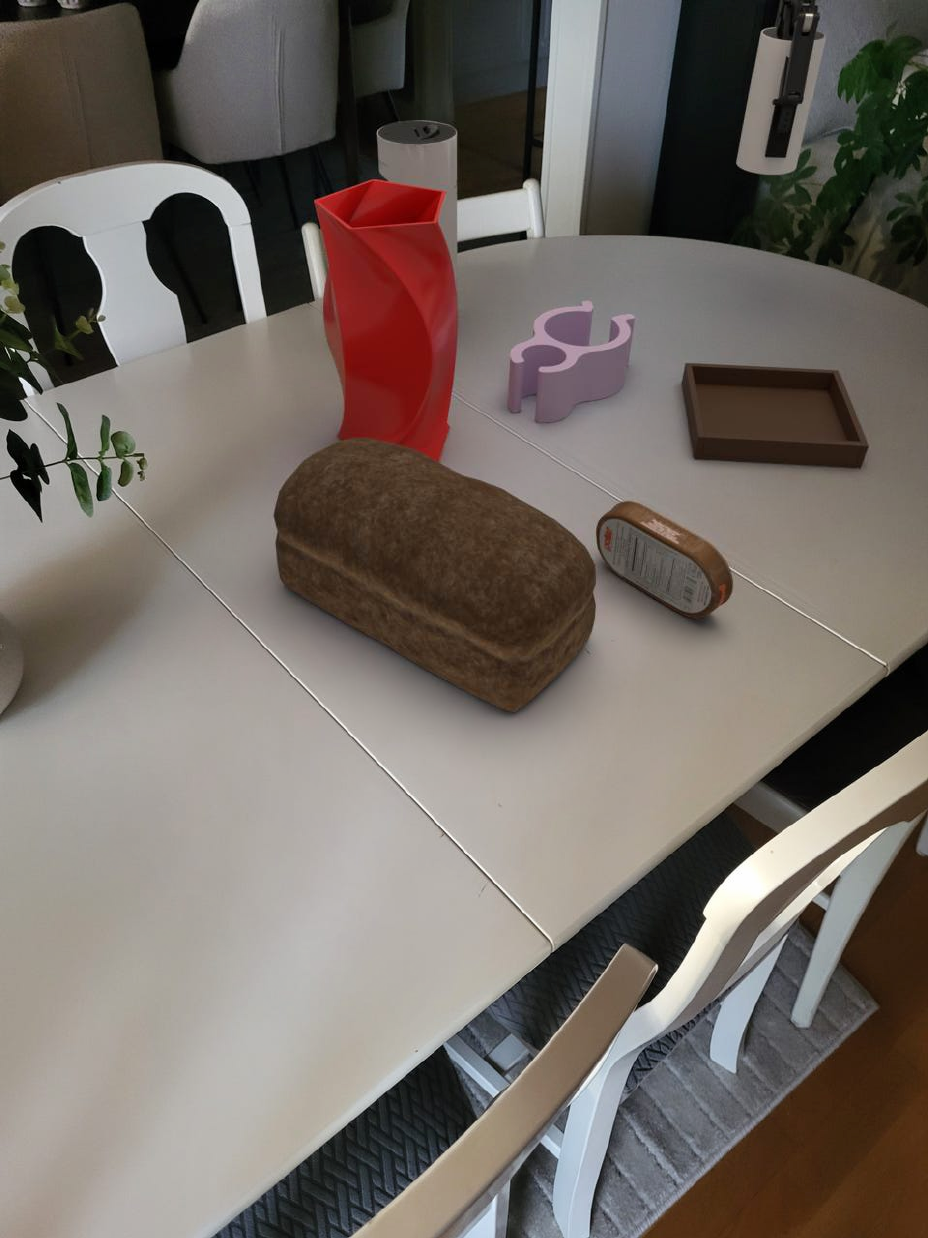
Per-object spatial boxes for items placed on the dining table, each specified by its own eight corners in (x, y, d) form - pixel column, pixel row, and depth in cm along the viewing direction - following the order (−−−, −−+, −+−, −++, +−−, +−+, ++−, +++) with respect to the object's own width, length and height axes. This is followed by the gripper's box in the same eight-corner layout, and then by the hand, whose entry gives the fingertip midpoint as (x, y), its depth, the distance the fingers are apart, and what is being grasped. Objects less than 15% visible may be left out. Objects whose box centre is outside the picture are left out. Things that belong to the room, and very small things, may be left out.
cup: (733, 171, 130) (758, 38, 119) (739, 152, 136) (763, 24, 125) (794, 177, 128) (825, 43, 117) (797, 158, 134) (827, 28, 123)
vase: (476, 436, 115) (481, 200, 96) (406, 493, 107) (395, 247, 87) (379, 398, 121) (365, 170, 102) (305, 450, 113) (274, 211, 93)
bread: (360, 514, 104) (349, 385, 93) (609, 640, 90) (631, 506, 79) (263, 584, 95) (238, 451, 84) (522, 734, 81) (533, 600, 70)
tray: (831, 391, 124) (838, 370, 122) (861, 468, 111) (869, 445, 109) (681, 383, 125) (685, 362, 123) (693, 458, 112) (698, 436, 110)
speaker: (390, 304, 141) (381, 113, 123) (459, 305, 141) (460, 115, 123) (383, 337, 133) (372, 139, 115) (456, 339, 133) (457, 141, 115)
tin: (725, 621, 92) (744, 554, 86) (706, 636, 90) (724, 570, 85) (606, 549, 100) (615, 484, 94) (586, 563, 98) (595, 497, 92)
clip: (566, 433, 116) (571, 382, 111) (484, 401, 121) (485, 351, 116) (644, 368, 127) (652, 320, 123) (566, 342, 133) (570, 294, 128)
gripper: (767, -68, 123) (733, 121, 138) (794, -39, 107) (752, 171, 123) (826, -67, 122) (785, 123, 138) (862, -38, 107) (811, 172, 123)
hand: (770, 145), depth 130 cm, fingers closed on cup, 8 cm apart
